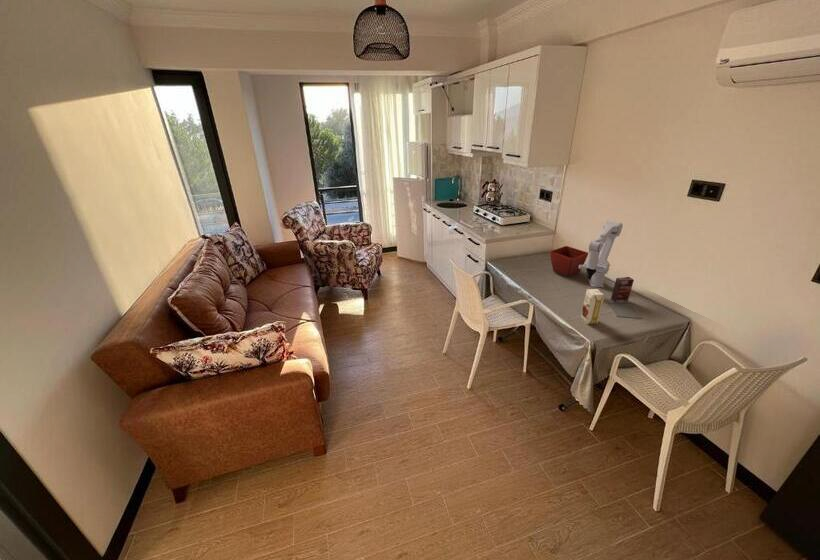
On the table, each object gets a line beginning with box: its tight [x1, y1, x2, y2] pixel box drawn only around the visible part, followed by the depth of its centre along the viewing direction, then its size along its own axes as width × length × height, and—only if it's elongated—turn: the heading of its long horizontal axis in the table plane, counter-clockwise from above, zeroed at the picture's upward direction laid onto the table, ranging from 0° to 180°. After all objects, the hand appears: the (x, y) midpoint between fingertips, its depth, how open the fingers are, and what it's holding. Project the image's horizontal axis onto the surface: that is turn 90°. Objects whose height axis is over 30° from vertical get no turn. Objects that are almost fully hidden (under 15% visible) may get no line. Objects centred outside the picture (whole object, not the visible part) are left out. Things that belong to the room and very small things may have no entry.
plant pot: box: [550, 245, 589, 278], centre depth 245 cm, size 19×19×17 cm
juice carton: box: [580, 288, 605, 325], centre depth 185 cm, size 8×9×19 cm
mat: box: [608, 302, 643, 320], centre depth 197 cm, size 16×13×1 cm
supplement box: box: [610, 276, 635, 304], centre depth 204 cm, size 9×5×16 cm, turn 97°
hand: (589, 278), depth 215 cm, fingers closed
